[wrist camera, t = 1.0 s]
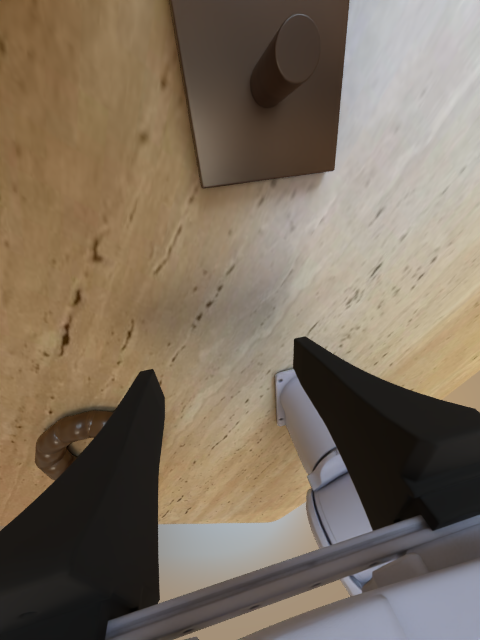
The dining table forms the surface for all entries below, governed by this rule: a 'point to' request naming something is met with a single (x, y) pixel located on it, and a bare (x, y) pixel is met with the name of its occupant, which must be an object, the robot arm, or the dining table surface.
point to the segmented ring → (66, 440)
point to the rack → (261, 85)
